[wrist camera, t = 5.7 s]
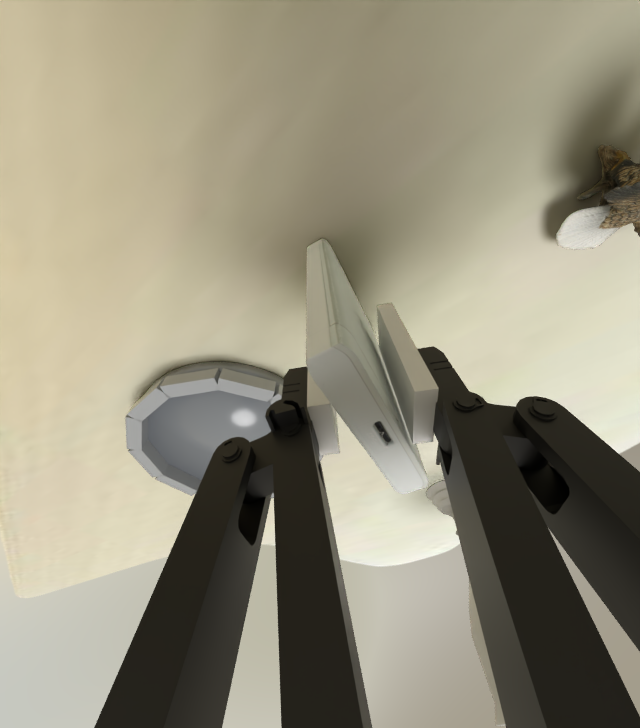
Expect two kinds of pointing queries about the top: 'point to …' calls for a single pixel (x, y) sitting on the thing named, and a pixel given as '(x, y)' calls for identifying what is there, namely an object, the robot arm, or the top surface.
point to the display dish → (198, 418)
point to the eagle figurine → (605, 203)
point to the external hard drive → (356, 371)
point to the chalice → (442, 502)
